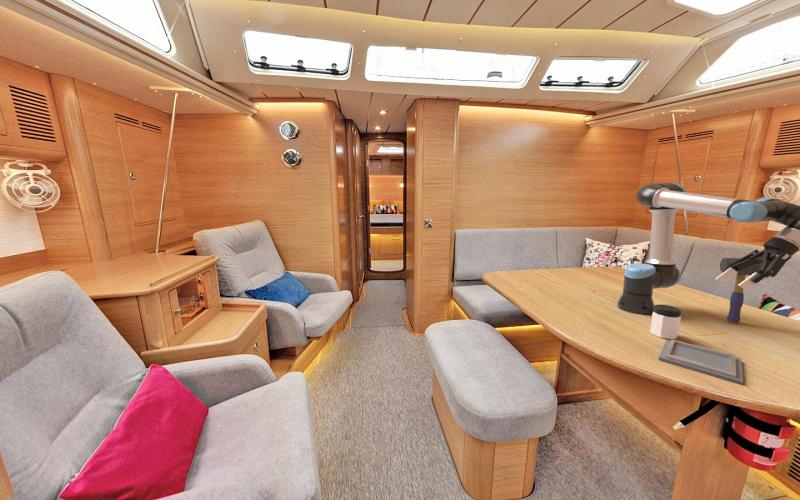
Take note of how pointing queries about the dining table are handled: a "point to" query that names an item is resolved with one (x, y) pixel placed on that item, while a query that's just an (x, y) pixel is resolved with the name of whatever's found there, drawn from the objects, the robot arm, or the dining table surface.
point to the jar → (666, 321)
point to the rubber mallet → (737, 288)
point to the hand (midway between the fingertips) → (729, 284)
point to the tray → (698, 364)
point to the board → (703, 361)
